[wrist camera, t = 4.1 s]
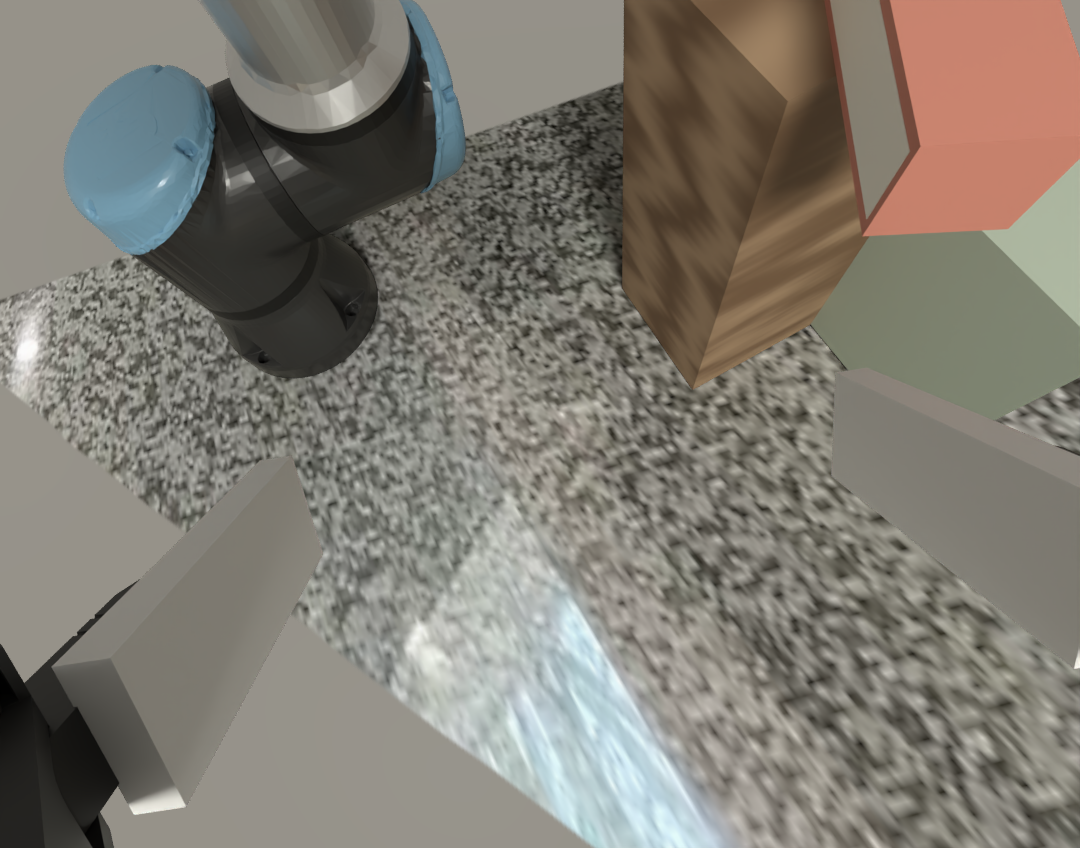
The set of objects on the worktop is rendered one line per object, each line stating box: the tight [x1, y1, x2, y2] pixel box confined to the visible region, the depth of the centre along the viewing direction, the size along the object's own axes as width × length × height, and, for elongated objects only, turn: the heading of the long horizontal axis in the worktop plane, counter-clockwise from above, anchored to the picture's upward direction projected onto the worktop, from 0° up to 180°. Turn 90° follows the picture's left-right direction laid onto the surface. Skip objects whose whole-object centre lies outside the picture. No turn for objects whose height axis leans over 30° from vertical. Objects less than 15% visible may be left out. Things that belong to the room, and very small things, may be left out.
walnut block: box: [622, 0, 869, 390], centre depth 38 cm, size 12×14×30 cm
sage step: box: [811, 159, 1080, 420], centre depth 39 cm, size 14×12×19 cm
